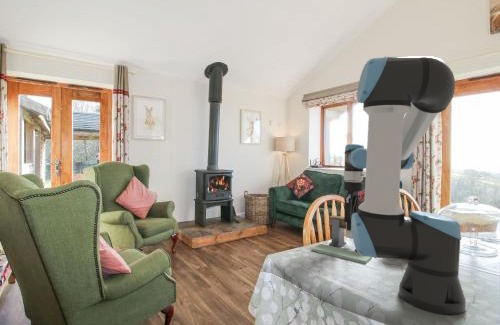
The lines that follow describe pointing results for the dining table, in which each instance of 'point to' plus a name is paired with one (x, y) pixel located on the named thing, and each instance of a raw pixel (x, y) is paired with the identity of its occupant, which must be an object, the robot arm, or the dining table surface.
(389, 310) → the dining table surface
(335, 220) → the post far
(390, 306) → the dining table surface
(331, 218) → the rail
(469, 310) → the dining table surface
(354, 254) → the mat
